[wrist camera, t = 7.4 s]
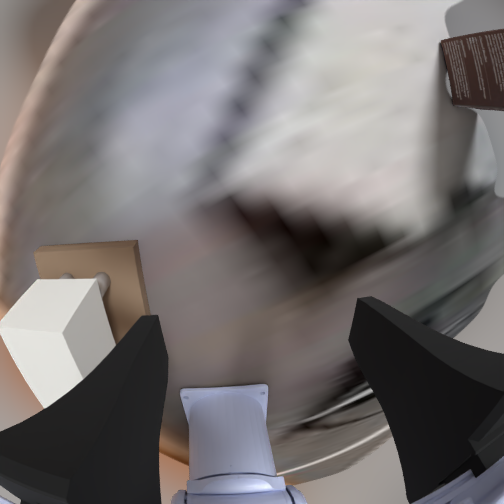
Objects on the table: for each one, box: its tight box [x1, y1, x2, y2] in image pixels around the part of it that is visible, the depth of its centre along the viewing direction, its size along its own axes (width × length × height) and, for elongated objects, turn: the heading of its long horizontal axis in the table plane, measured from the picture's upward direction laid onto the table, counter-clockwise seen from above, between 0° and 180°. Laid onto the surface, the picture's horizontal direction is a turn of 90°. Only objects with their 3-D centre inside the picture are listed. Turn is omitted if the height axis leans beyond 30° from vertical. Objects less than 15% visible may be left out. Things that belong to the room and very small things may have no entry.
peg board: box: [34, 240, 151, 345], centre depth 18 cm, size 12×8×4 cm, turn 179°
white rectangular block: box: [0, 278, 116, 409], centre depth 14 cm, size 10×4×5 cm, turn 179°
